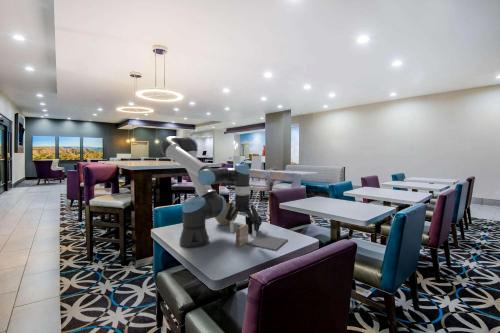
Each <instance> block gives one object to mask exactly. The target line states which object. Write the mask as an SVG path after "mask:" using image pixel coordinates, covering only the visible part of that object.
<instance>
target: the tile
mask: <svg viewBox="0 0 500 333" xmlns="http://www.w3.org/2000/svg"><path fill="white" fill-rule="evenodd" d="M247 243H249V233H248V225H246V223H245V224H243V225H241V226H239V227H237V228H235V246H236V247H238V248H240V247H242V246H243V245H245V244H247Z"/></svg>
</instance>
